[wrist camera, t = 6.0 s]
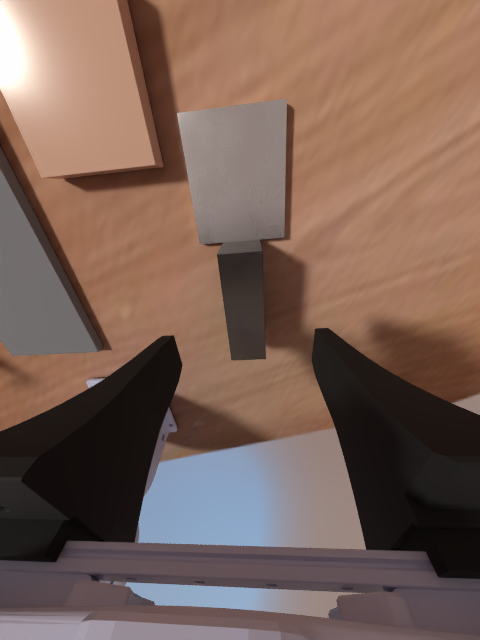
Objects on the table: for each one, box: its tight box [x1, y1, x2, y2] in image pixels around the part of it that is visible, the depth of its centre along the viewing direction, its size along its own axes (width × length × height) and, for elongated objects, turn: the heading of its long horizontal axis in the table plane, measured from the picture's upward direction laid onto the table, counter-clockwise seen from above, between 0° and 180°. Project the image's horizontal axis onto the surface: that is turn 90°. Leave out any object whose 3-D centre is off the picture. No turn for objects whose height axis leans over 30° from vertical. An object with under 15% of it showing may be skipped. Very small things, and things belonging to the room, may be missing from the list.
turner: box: [177, 99, 287, 360], centre depth 14 cm, size 15×6×4 cm, turn 5°
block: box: [0, 0, 164, 179], centre depth 11 cm, size 2×7×7 cm
